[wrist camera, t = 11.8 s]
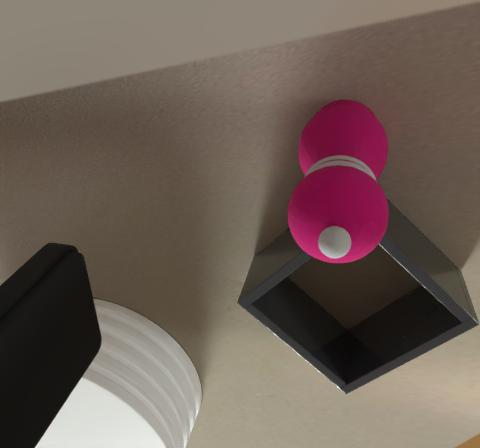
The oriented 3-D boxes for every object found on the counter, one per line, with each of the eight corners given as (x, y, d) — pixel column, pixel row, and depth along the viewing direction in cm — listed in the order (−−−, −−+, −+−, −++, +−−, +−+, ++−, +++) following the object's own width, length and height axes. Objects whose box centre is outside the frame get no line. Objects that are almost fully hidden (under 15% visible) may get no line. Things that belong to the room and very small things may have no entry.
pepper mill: (303, 94, 40) (263, 186, 23) (388, 92, 38) (414, 190, 21) (303, 170, 43) (269, 299, 26) (381, 171, 42) (399, 310, 25)
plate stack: (121, 269, 55) (70, 334, 45) (238, 420, 64) (217, 501, 54) (-14, 329, 66) (-77, 391, 57) (101, 449, 75) (63, 520, 66)
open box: (357, 169, 42) (357, 208, 35) (461, 270, 45) (480, 324, 38) (253, 257, 49) (236, 302, 43) (347, 339, 52) (346, 394, 45)
